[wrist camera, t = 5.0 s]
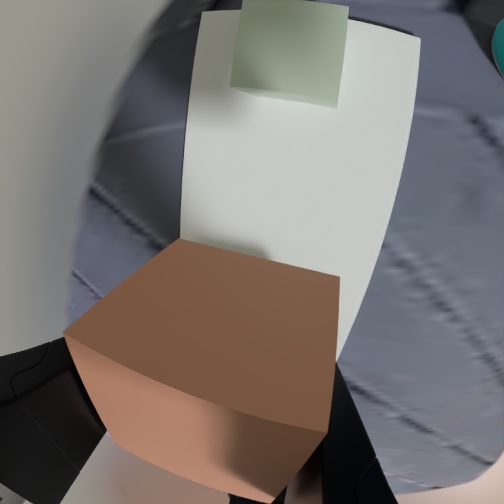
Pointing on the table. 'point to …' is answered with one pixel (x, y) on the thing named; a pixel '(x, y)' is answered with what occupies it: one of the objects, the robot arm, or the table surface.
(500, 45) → the beverage can
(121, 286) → the terracotta block
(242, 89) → the sage block
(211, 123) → the white mat
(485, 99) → the table surface
